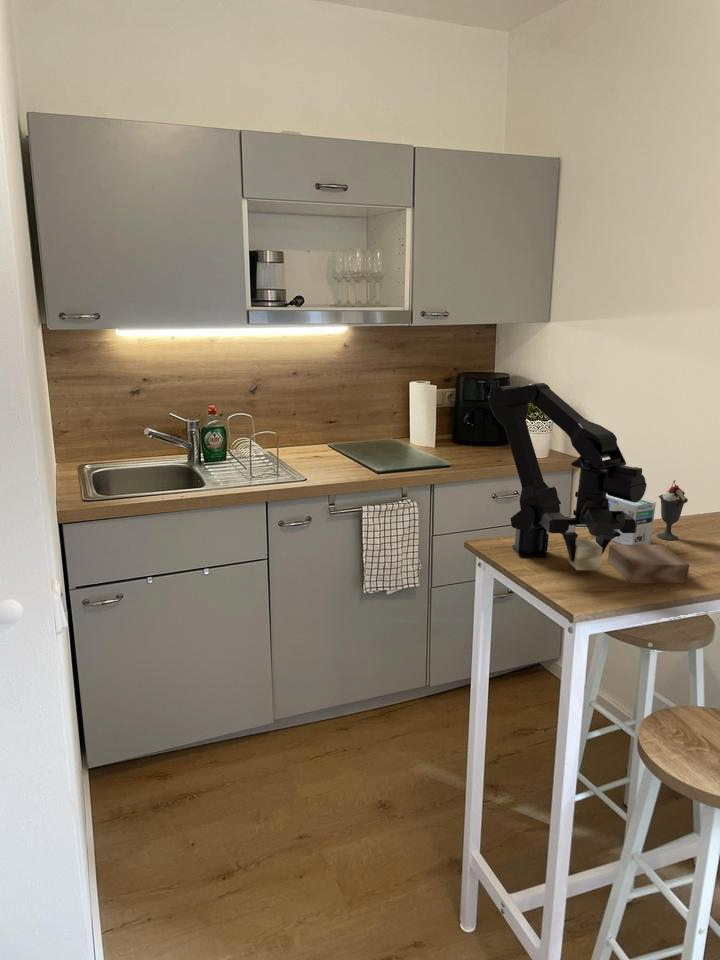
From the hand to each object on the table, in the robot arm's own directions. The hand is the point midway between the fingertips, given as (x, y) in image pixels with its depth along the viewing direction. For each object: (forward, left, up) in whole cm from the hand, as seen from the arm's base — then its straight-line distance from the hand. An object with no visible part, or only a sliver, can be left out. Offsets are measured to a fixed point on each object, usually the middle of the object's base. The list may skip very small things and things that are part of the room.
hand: (584, 561), depth 154 cm
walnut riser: (+14, 0, -3) cm, 14 cm away
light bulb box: (+18, +20, -3) cm, 27 cm away
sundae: (+30, +22, -3) cm, 37 cm away
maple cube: (0, 0, -1) cm, 1 cm away
